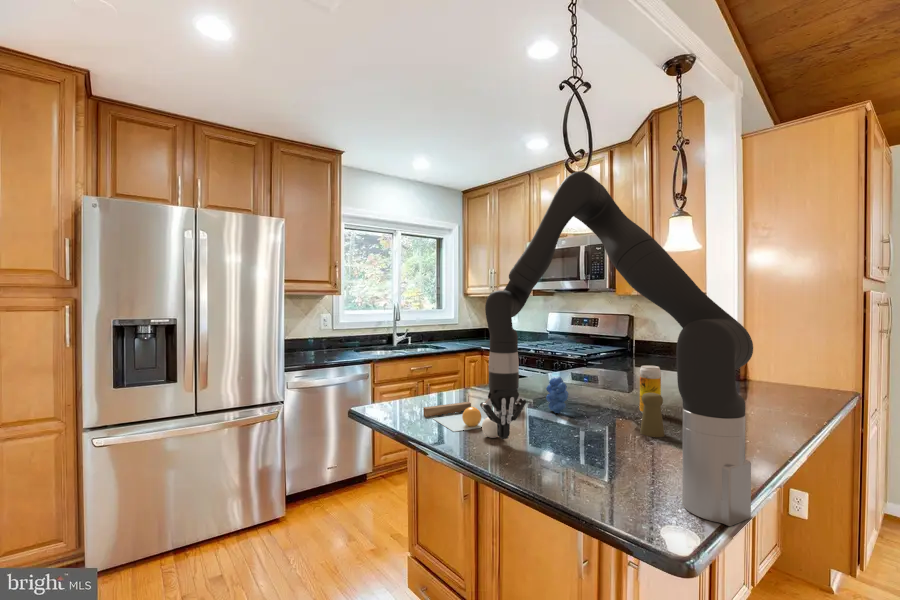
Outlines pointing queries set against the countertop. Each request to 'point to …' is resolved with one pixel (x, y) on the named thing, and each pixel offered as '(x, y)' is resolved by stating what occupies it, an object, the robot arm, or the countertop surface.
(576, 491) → the countertop surface
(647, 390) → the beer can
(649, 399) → the olive tall flared piece
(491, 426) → the cue ball
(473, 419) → the orange ball
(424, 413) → the wooden stick
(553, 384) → the grapes
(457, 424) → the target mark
